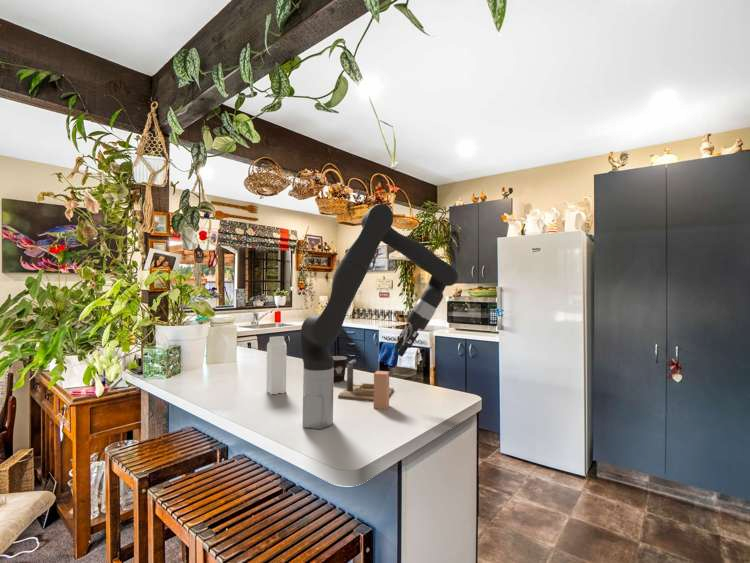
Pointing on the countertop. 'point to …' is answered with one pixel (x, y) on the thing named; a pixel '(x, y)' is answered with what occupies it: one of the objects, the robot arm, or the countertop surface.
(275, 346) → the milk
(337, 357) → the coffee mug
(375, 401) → the link block
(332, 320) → the robot arm
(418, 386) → the countertop surface
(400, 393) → the countertop surface
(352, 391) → the pintle seat
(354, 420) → the countertop surface
